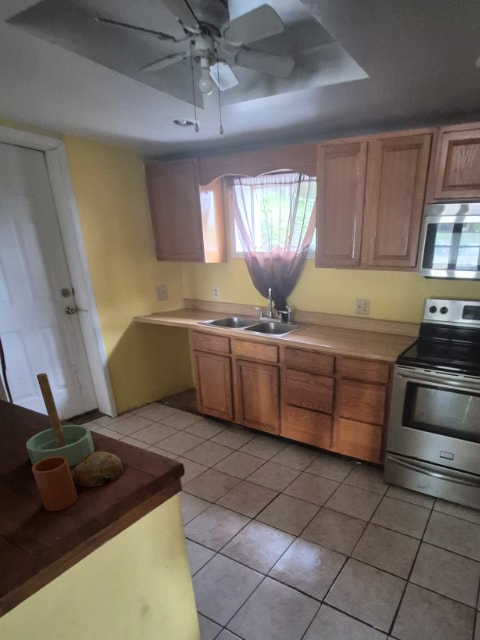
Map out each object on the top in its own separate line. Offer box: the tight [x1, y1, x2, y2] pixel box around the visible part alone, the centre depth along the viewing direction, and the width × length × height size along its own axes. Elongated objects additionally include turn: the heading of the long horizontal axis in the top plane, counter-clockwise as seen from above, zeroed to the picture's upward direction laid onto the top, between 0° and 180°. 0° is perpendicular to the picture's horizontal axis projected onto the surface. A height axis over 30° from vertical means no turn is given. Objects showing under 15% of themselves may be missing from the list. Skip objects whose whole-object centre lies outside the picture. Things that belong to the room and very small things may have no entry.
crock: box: [31, 456, 79, 512], centre depth 76 cm, size 6×6×10 cm
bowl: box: [25, 424, 95, 468], centre depth 94 cm, size 14×14×6 cm
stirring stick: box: [36, 372, 68, 449], centre depth 91 cm, size 3×2×22 cm, turn 81°
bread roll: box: [73, 451, 124, 488], centre depth 86 cm, size 10×10×8 cm
